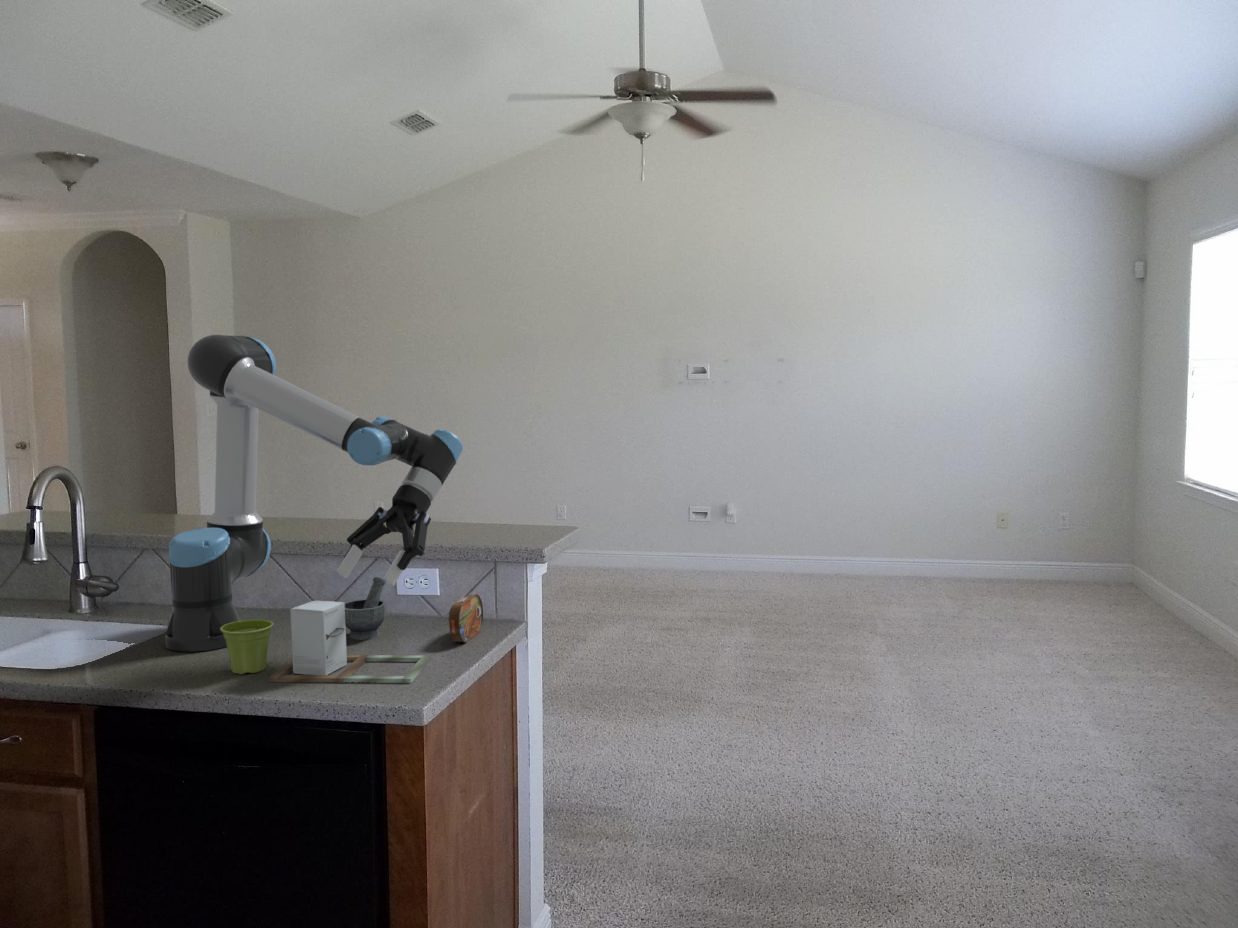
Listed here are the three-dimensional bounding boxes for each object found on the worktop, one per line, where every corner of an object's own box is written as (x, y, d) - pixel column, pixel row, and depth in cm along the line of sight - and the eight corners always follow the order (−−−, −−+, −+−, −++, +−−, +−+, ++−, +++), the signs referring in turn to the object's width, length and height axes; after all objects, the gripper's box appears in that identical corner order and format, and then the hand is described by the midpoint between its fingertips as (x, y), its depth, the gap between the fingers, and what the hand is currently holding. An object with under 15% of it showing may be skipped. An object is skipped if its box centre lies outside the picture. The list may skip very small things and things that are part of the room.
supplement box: (325, 677, 177) (322, 610, 176) (291, 673, 179) (288, 608, 178) (348, 665, 184) (345, 601, 183) (316, 662, 186) (313, 598, 185)
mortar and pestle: (363, 644, 198) (360, 587, 197) (331, 638, 203) (329, 583, 202) (401, 631, 208) (399, 577, 207) (370, 625, 213) (368, 573, 212)
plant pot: (250, 659, 189) (247, 616, 188) (286, 665, 185) (283, 621, 184) (211, 673, 181) (209, 629, 180) (248, 680, 176) (245, 634, 176)
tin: (461, 647, 195) (460, 607, 195) (447, 646, 196) (445, 606, 195) (485, 627, 210) (483, 590, 209) (471, 627, 211) (470, 589, 210)
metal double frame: (269, 681, 175) (268, 677, 175) (299, 658, 189) (299, 654, 189) (410, 682, 174) (410, 678, 173) (430, 659, 187) (430, 655, 187)
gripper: (469, 508, 196) (420, 595, 185) (384, 501, 210) (334, 581, 199) (450, 485, 191) (398, 573, 180) (365, 480, 205) (311, 561, 194)
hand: (364, 578), depth 189 cm, fingers open, 13 cm apart
